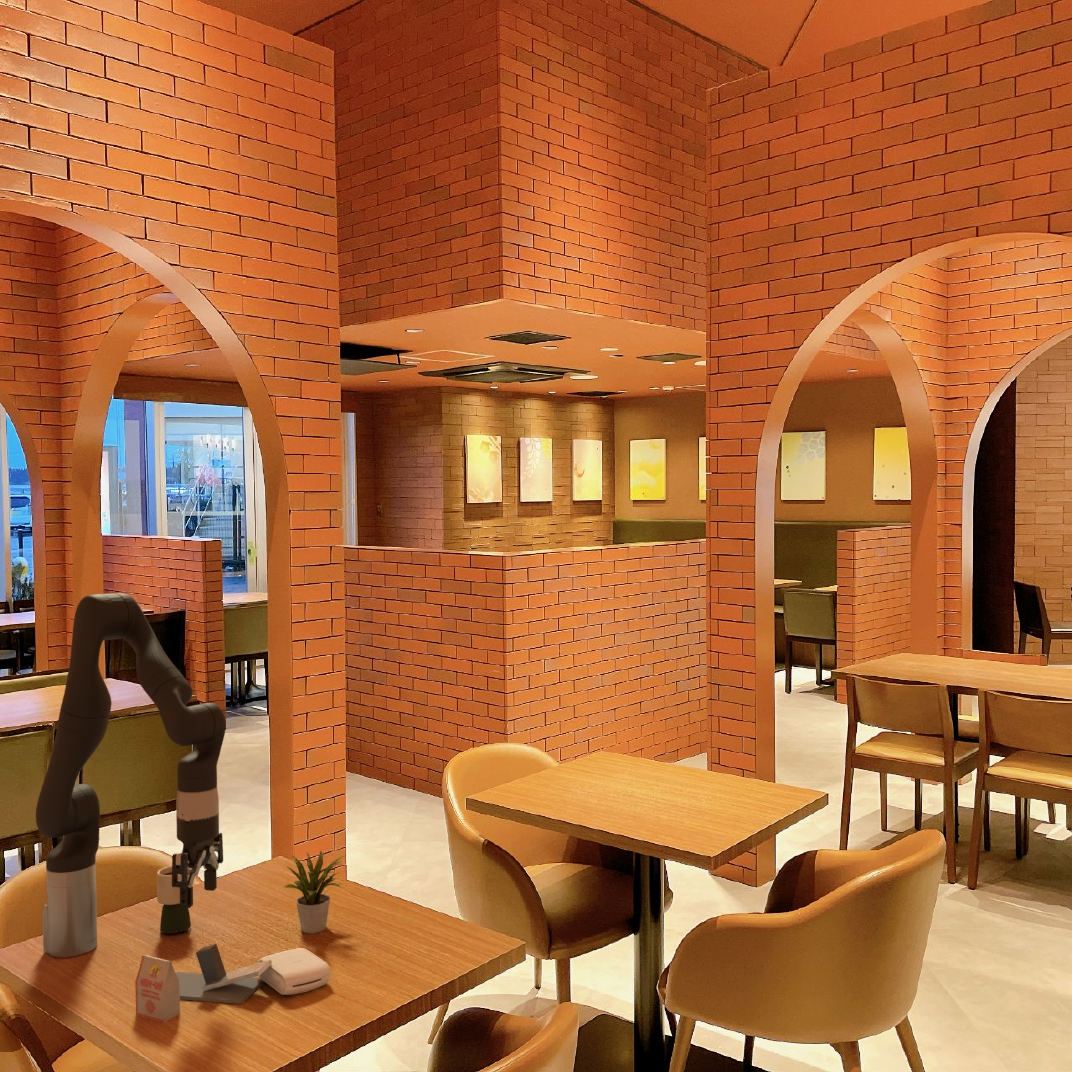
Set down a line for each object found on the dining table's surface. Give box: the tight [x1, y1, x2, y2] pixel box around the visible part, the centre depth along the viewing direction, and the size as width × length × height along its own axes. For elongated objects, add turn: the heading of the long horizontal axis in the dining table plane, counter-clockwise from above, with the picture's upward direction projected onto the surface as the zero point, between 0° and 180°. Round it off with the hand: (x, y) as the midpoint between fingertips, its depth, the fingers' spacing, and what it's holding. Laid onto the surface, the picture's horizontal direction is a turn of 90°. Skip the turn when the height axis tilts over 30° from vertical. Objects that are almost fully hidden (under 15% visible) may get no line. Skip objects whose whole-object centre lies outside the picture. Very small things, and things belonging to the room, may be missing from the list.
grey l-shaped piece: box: [195, 943, 272, 991], centre depth 188 cm, size 12×5×7 cm, turn 77°
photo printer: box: [257, 947, 332, 996], centre depth 190 cm, size 10×4×12 cm
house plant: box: [282, 850, 346, 934], centre depth 215 cm, size 14×14×16 cm
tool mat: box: [175, 971, 265, 1005], centre depth 188 cm, size 18×9×1 cm, turn 79°
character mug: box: [156, 865, 192, 934], centre depth 216 cm, size 11×7×13 cm, turn 46°
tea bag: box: [134, 954, 181, 1023], centre depth 179 cm, size 4×7×10 cm, turn 63°
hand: (198, 898), depth 188 cm, fingers open, 8 cm apart
